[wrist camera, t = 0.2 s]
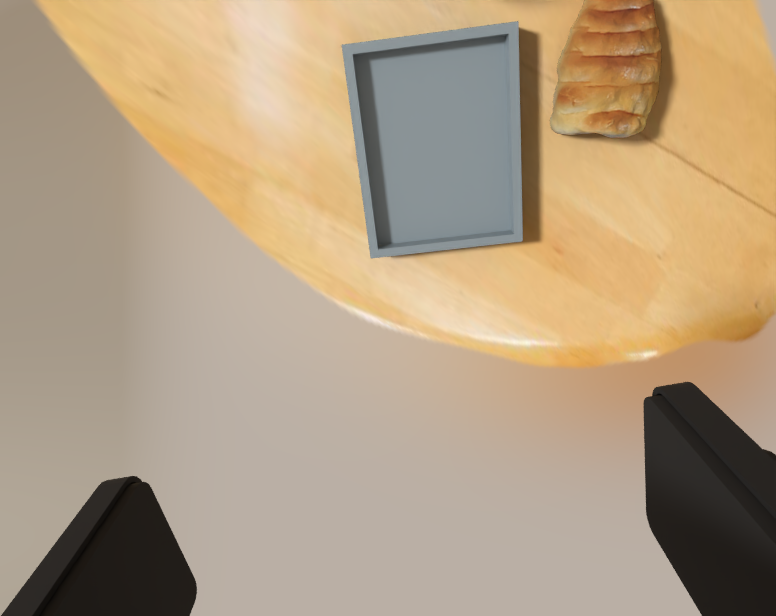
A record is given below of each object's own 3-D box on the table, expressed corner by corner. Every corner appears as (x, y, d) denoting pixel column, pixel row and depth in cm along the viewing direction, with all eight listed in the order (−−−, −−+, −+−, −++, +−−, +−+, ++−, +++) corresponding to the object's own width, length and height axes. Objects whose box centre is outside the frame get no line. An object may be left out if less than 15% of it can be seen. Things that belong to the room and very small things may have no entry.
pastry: (560, -18, 33) (580, -31, 29) (665, -18, 33) (699, -32, 30) (543, 137, 37) (560, 141, 33) (639, 136, 37) (665, 141, 33)
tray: (344, 47, 34) (341, 44, 32) (511, 25, 34) (518, 21, 32) (371, 250, 40) (370, 258, 38) (516, 234, 39) (522, 241, 37)
